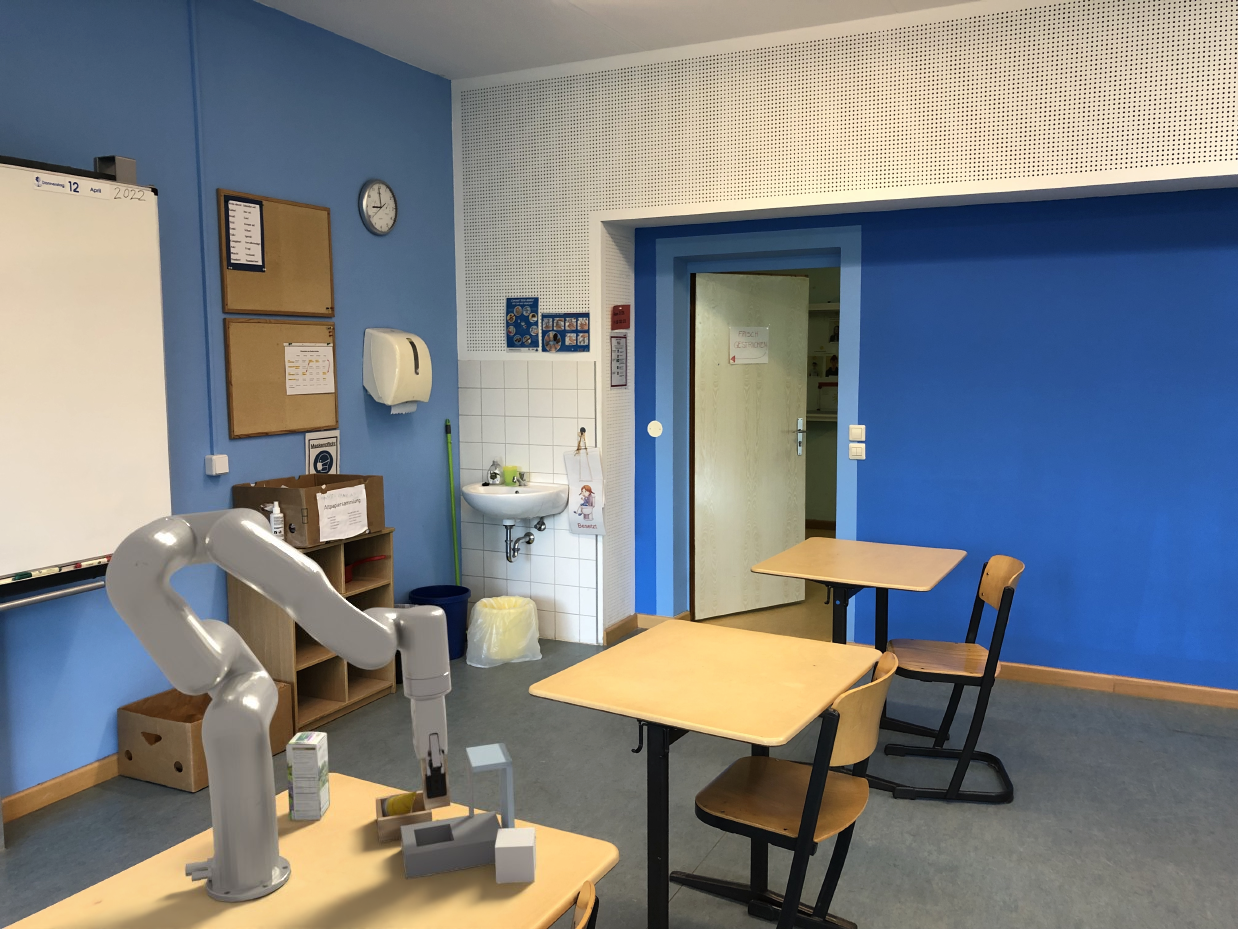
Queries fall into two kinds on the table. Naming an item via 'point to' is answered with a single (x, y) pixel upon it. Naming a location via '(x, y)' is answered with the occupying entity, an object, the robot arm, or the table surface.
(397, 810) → the yellow curved piece
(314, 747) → the syrup box
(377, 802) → the divided wooden box
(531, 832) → the white block
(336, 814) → the table surface
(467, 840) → the socket
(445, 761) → the peg
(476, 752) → the blue-grey arch piece
